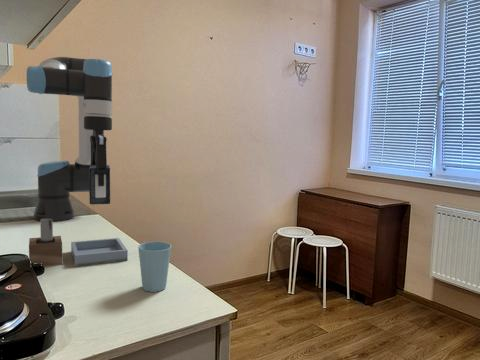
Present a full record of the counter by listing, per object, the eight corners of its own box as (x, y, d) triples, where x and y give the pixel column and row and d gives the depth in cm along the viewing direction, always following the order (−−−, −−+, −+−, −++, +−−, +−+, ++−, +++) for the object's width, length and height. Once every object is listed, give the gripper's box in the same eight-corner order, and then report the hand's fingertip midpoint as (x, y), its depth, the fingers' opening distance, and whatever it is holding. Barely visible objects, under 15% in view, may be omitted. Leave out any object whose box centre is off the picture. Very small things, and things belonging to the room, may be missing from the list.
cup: (154, 297, 88) (155, 252, 87) (131, 289, 92) (131, 246, 91) (176, 286, 94) (177, 245, 93) (153, 279, 98) (154, 239, 97)
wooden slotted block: (30, 258, 110) (29, 238, 109) (60, 255, 114) (60, 235, 113) (29, 267, 103) (28, 246, 102) (62, 264, 106) (62, 243, 106)
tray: (71, 251, 118) (71, 242, 117) (118, 246, 124) (118, 237, 124) (75, 266, 105) (74, 255, 105) (127, 260, 112) (127, 250, 111)
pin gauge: (41, 260, 109) (40, 218, 108) (52, 259, 110) (52, 218, 109) (41, 263, 106) (40, 221, 105) (53, 262, 108) (52, 220, 106)
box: (90, 200, 115) (89, 164, 114) (110, 199, 117) (110, 165, 116) (89, 204, 108) (88, 167, 107) (110, 204, 110) (110, 167, 109)
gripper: (80, 116, 117) (81, 189, 120) (88, 114, 99) (88, 201, 101) (106, 117, 121) (106, 189, 123) (118, 116, 102) (118, 200, 105)
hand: (98, 194), depth 112 cm, fingers closed on box, 8 cm apart
